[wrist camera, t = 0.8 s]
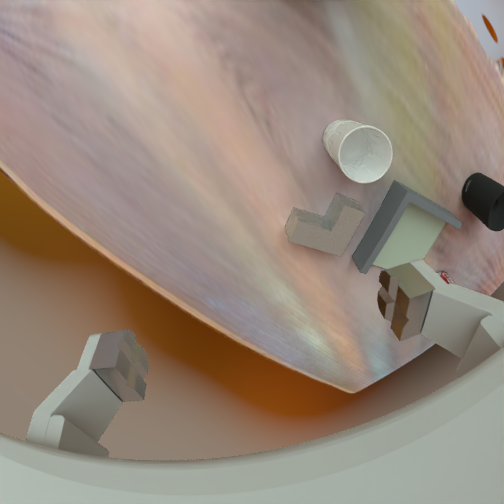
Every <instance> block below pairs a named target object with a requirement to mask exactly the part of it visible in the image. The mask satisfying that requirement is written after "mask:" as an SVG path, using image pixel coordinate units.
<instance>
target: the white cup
mask: <svg viewBox="0 0 504 504" xmlns="http://www.w3.org/2000/svg"><path fill="white" fill-rule="evenodd" d="M323 143H324V147H325V149H326V151H327V152H328V153H329V155H330V157H331V158H332V159H333V161H334V162H335V163H336V164H337V165H338V167H339V168H340V169H341V170H342V171H343V173H344V174H345V175H346V176H347V177H348V178H349V179H351V180H353V181H355V182H358V183H371V182H374V181H376V180H378V179H380V178H381V177H382V176H383V175H384V174H385V173H386V172H387V171H388V169H389V167H390V165H391V162H392V156H393V151H392V146H391V143H390V140H389V139H388V137H387V136H386V135H385V133H383V132H382V131H381V130H379V129H378V128H375V127H372V126H369V125H366V124H363V123H359V122H355V121H350V120H336V121H334V122H332V123H330V124H329V125H328V127H327V128H326V129H325V131H324V135H323Z"/></svg>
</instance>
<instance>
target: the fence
mask: <svg viewBox="0 0 504 504" xmlns="http://www.w3.org/2000/svg"><path fill="white" fill-rule="evenodd" d="M409 202H411V203H413V204H415V205H417V206H419V207H420V208H422V209H424V210H426V211H428V212H430V213H431V214H433V215H435V216H437V217H438V218H440V219H442V220H444V221H445V222H447V223H449V224H450V225H452V226H454V227H455V228H457V229H460V228H461V226H462V223H461V222H460V221H459V220H458V219H457V218H456V217H455V216H454V215H452V214H451V213H450V212H449V211H447V210H446V209H444V208H442V207H441V206H439V205H437V204H436V203H434V202H432V201H431V200H429V199H427V198H426V197H424V196H422V195H420V194H419V193H417V192H415V191H413V190H412V189H410V188H408V187H406V186H404V185H402V184H401V183H399V182H397V181H395V180H394V182H393V184H392V186H391V188H390V190H389V192H388V194H387V195H386V197H385V199H384V201H383V203H382V205H381V207H380V209H379V210H378V212H377V214H376V216H375V218H374V219H373V221H372V223H371V225H370V227H369V228H368V230H367V232H366V234H365V235H364V237H363V239H362V241H361V242H360V244H359V246H358V247H357V249H356V251H355V252H354V254H353V256H352V258H353V260H354V262H355V264H356V266H357V268H358V270H359V272H360V273H364V274H366V273H367V272H368V270H369V269H370V267H371V266H372V264H373V262H374V261H375V259H376V258H377V256H378V255H379V253H380V251H381V250H382V248H383V247H384V245H385V243H386V242H387V240H388V238H389V237H390V235H391V233H392V232H393V230H394V228H395V227H396V225H397V223H398V221H399V220H400V218H401V216H402V214H403V213H404V211H405V209H406V207H407V205H408V204H409Z"/></svg>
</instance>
